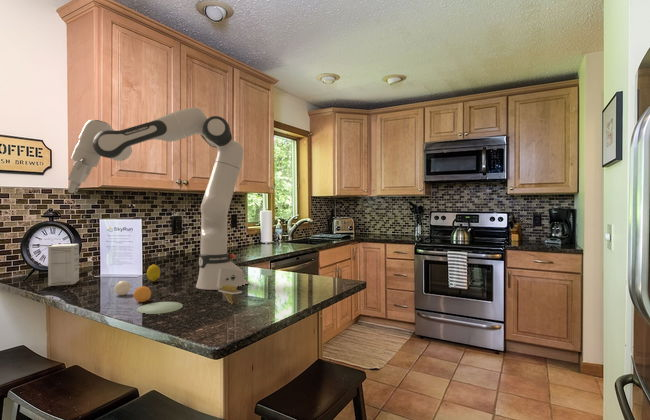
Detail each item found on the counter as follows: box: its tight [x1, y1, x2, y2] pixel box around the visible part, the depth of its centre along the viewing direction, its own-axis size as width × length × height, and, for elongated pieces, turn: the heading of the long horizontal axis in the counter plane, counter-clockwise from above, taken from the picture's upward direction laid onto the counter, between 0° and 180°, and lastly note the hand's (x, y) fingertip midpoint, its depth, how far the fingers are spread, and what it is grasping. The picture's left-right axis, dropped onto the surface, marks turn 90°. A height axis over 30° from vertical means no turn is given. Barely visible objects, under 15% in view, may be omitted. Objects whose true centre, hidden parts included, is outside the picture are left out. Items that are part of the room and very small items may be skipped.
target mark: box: [136, 301, 184, 315], centre depth 119 cm, size 14×14×1 cm
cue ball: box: [113, 280, 132, 296], centre depth 135 cm, size 6×6×6 cm
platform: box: [218, 285, 243, 305], centre depth 126 cm, size 12×18×7 cm, turn 59°
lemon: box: [146, 263, 161, 283], centre depth 160 cm, size 6×6×8 cm
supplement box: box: [47, 243, 80, 287], centre depth 154 cm, size 10×9×17 cm
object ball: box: [133, 285, 152, 303], centre depth 126 cm, size 6×6×6 cm
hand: (72, 192), depth 137 cm, fingers open, 8 cm apart
